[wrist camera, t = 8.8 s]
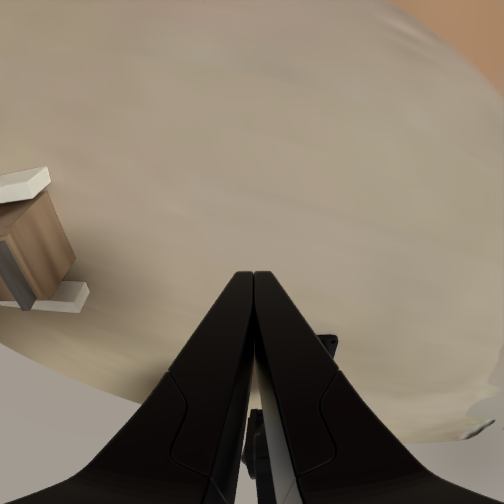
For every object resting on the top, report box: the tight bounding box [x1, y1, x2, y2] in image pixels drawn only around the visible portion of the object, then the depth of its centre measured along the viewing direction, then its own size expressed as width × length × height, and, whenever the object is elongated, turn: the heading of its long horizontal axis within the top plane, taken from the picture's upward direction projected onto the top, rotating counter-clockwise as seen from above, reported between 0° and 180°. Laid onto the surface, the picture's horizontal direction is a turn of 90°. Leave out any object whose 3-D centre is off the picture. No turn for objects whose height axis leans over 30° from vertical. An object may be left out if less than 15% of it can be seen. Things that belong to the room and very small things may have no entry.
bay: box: [0, 166, 90, 313], centre depth 20 cm, size 12×11×2 cm
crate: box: [0, 191, 76, 311], centre depth 19 cm, size 9×6×7 cm, turn 97°
